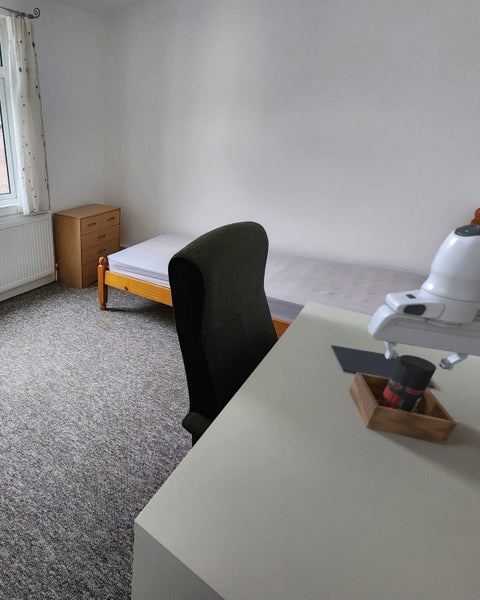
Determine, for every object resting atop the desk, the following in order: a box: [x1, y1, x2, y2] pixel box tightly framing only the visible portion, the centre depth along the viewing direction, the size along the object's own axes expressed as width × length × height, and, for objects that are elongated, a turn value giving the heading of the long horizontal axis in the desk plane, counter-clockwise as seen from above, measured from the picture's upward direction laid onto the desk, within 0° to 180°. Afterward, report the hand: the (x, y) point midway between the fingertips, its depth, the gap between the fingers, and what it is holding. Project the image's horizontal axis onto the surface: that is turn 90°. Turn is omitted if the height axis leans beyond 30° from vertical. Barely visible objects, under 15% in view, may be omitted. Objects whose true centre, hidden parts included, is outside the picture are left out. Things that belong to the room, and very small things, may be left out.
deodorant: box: [377, 354, 437, 413], centre depth 77 cm, size 6×6×15 cm
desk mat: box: [330, 344, 436, 389], centre depth 98 cm, size 20×14×1 cm
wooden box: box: [349, 372, 458, 446], centre depth 79 cm, size 14×14×6 cm
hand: (416, 363), depth 74 cm, fingers open, 8 cm apart
